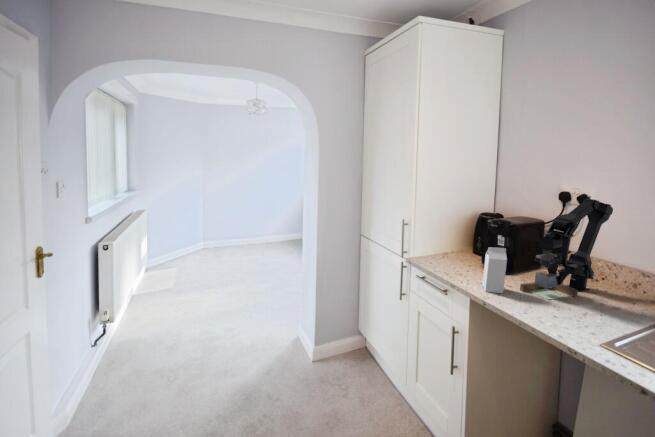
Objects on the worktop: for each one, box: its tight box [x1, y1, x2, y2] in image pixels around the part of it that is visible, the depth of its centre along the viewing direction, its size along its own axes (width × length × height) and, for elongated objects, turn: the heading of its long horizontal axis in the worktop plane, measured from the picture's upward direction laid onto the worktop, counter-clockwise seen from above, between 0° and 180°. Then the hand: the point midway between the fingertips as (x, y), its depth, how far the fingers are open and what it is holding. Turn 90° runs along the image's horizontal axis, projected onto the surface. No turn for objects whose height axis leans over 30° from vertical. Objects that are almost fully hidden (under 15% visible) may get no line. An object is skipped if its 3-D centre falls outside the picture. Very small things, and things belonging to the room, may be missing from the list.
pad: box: [529, 288, 565, 300], centre depth 160 cm, size 9×9×1 cm
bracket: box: [534, 271, 565, 290], centre depth 158 cm, size 9×6×5 cm, turn 109°
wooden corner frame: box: [519, 281, 579, 298], centre depth 160 cm, size 18×13×3 cm
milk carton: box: [482, 246, 508, 294], centre depth 162 cm, size 7×7×19 cm
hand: (555, 283), depth 158 cm, fingers closed on bracket, 3 cm apart
